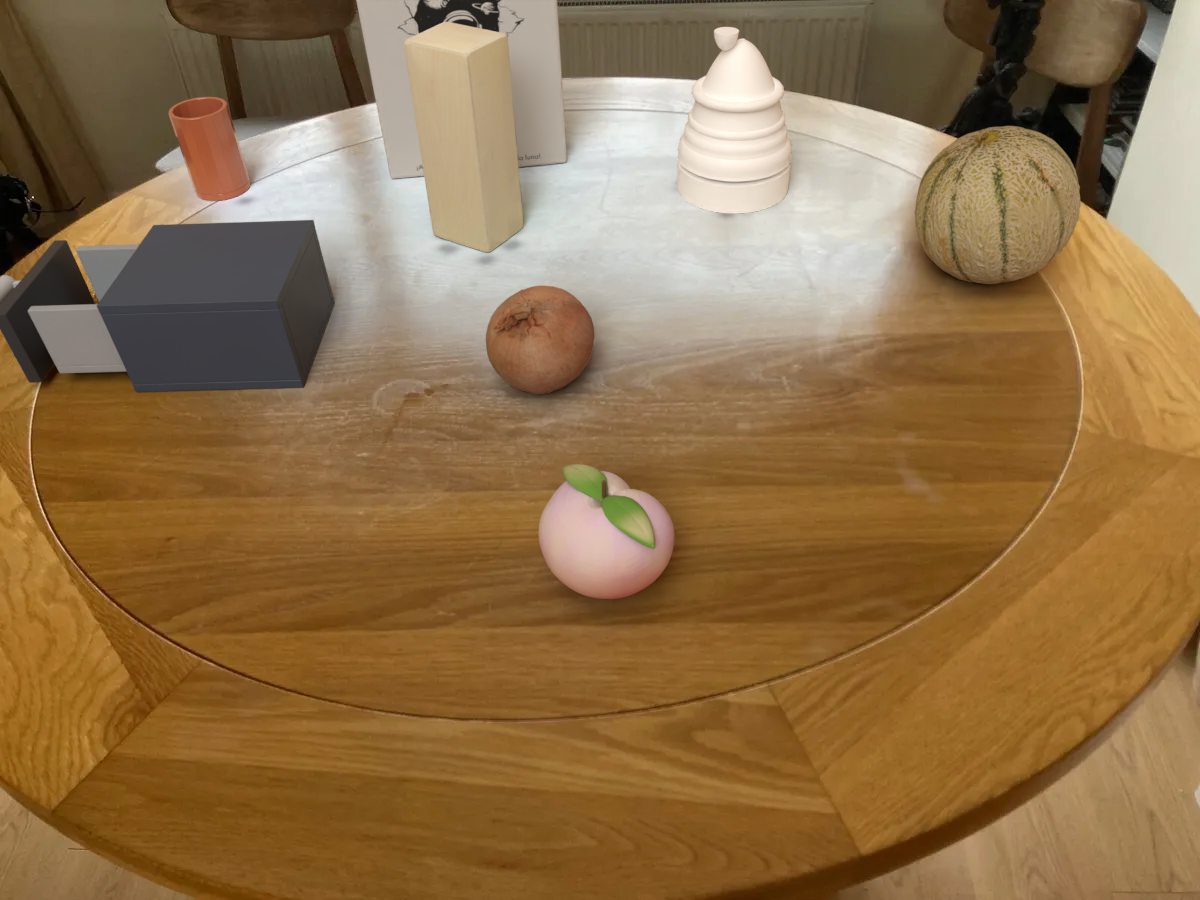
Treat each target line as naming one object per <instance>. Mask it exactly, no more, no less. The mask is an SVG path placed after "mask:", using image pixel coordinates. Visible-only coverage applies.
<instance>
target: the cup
mask: <svg viewBox="0 0 1200 900" xmlns="http://www.w3.org/2000/svg"><path fill="white" fill-rule="evenodd" d="M167 114H168V118H169V120H170V123H171V126H172V129H173V131H174V135H175V137H176V140H177V143H178V146H179V149H180V152H181V155H182V157H183V161H184V162H185V163H184V164H185V166H186V169H187V172H188V175H189V178H190V181H191V183H192V187H193V188H194V191H195V194H196V196H197V197H198V198H200V199H201V200H205V201H209V202H210V201H211V202H217V201H227V200H230V199H233V198H236V197H238V196H241V195H243V194H244V193H246V192H247V191H249V189H250V187H251V180H250V175H249V171H248V168H247V165H246V162H245V158H244V155H243V152H242V149H241V145H240V142H239V139H238V135H237V133H236V132H237V131H236V128H235V126H234V121H233V119H232V115H231V111H230V108H229V104H228V102H227V101H226V100H225V99H224V98H220V97H217V96H199V97H193V98H190V99H185V100H183V101H180V102H177V103H176V104H174V105H173V106H171V107H170V108H169V110H168V112H167Z"/></svg>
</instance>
